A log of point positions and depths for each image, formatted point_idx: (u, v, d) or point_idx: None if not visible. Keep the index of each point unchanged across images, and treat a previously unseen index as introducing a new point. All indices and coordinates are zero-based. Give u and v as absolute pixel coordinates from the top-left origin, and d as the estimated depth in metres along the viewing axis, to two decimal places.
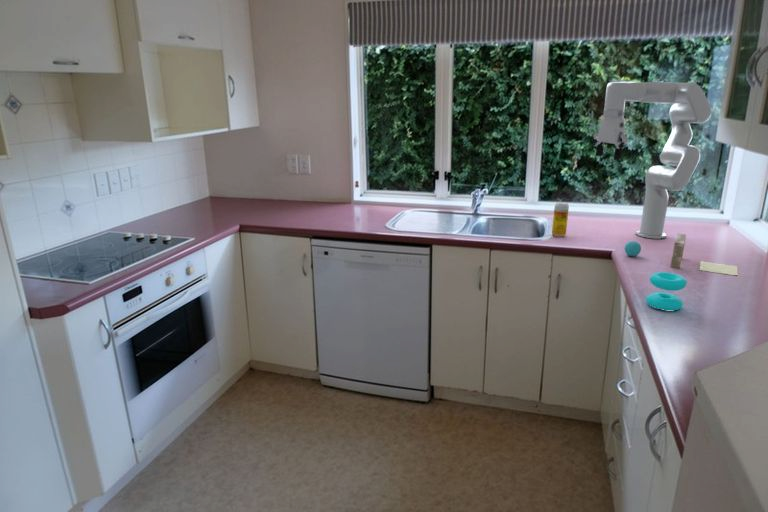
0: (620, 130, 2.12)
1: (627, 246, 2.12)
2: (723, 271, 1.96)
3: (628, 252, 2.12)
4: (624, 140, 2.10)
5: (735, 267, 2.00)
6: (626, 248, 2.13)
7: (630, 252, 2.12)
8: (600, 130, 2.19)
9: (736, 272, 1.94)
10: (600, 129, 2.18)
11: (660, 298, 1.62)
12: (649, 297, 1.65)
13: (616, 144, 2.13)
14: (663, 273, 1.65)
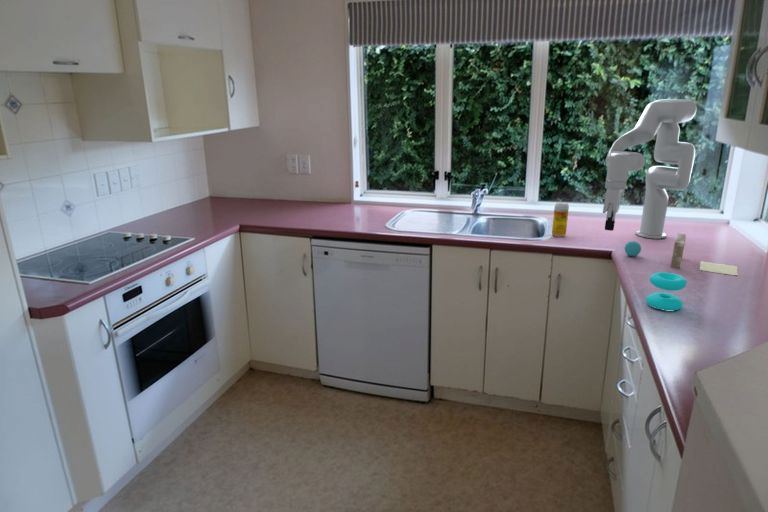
0: None
1: (627, 246, 2.12)
2: (723, 271, 1.96)
3: (628, 252, 2.12)
4: None
5: (735, 267, 2.00)
6: (626, 248, 2.13)
7: (630, 252, 2.12)
8: (617, 203, 2.08)
9: (736, 272, 1.94)
10: (617, 202, 2.08)
11: (660, 298, 1.62)
12: (649, 297, 1.65)
13: None
14: (663, 273, 1.65)
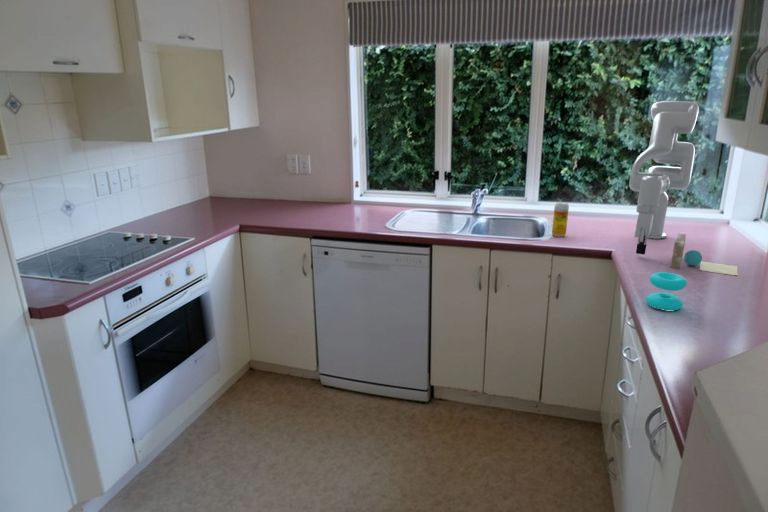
0: None
1: (690, 254, 2.00)
2: (723, 271, 1.96)
3: (687, 260, 2.01)
4: None
5: (735, 267, 2.00)
6: (688, 256, 2.01)
7: (689, 261, 2.00)
8: (650, 227, 2.05)
9: (736, 272, 1.94)
10: (650, 226, 2.04)
11: (660, 298, 1.62)
12: (649, 297, 1.65)
13: (646, 239, 2.11)
14: (663, 273, 1.65)
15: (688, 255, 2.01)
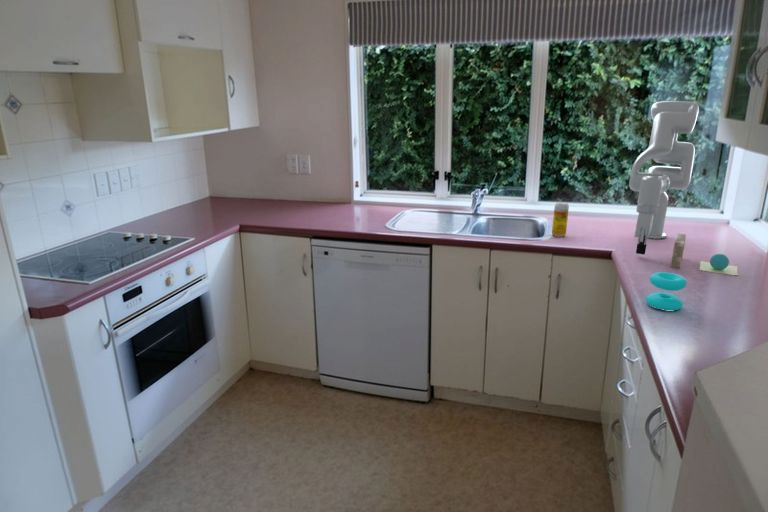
0: None
1: (722, 267, 1.95)
2: (723, 271, 1.96)
3: (723, 261, 1.94)
4: None
5: (735, 267, 2.00)
6: (724, 265, 1.95)
7: (721, 261, 1.95)
8: (650, 227, 2.05)
9: (736, 272, 1.94)
10: (650, 226, 2.04)
11: (660, 298, 1.62)
12: (649, 297, 1.65)
13: (646, 239, 2.11)
14: (663, 273, 1.65)
15: (724, 266, 1.95)
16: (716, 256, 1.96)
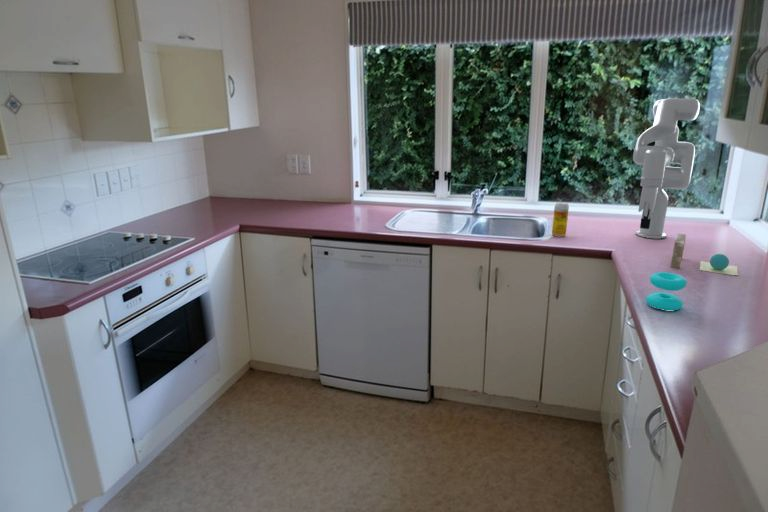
0: None
1: (722, 267, 1.95)
2: (723, 271, 1.96)
3: (723, 261, 1.94)
4: None
5: (735, 267, 2.00)
6: (724, 265, 1.95)
7: (721, 261, 1.95)
8: (654, 201, 2.02)
9: (736, 272, 1.94)
10: (654, 200, 2.02)
11: (660, 298, 1.62)
12: (649, 297, 1.65)
13: (650, 213, 2.08)
14: (663, 273, 1.65)
15: (724, 266, 1.95)
16: (716, 256, 1.96)
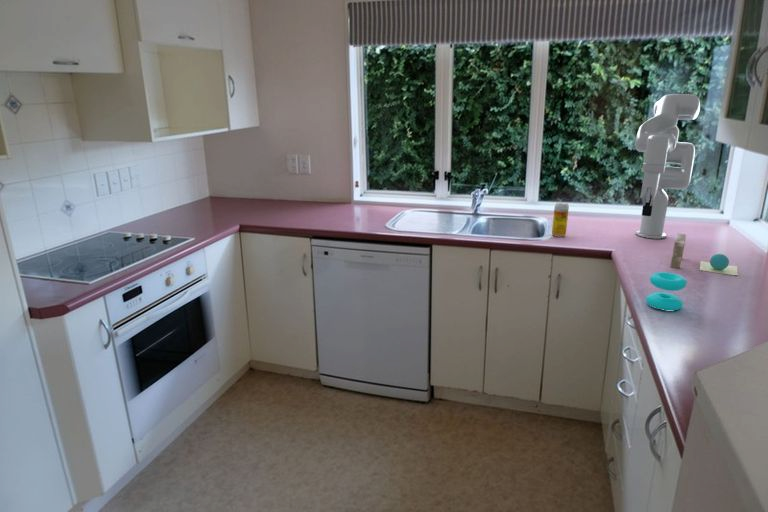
0: None
1: (722, 267, 1.95)
2: (723, 271, 1.96)
3: (723, 261, 1.94)
4: None
5: (735, 267, 2.00)
6: (724, 265, 1.95)
7: (721, 261, 1.95)
8: (656, 187, 2.00)
9: (736, 272, 1.94)
10: (656, 186, 2.00)
11: (660, 298, 1.62)
12: (649, 297, 1.65)
13: (652, 200, 2.06)
14: (663, 273, 1.65)
15: (724, 266, 1.95)
16: (716, 256, 1.96)
